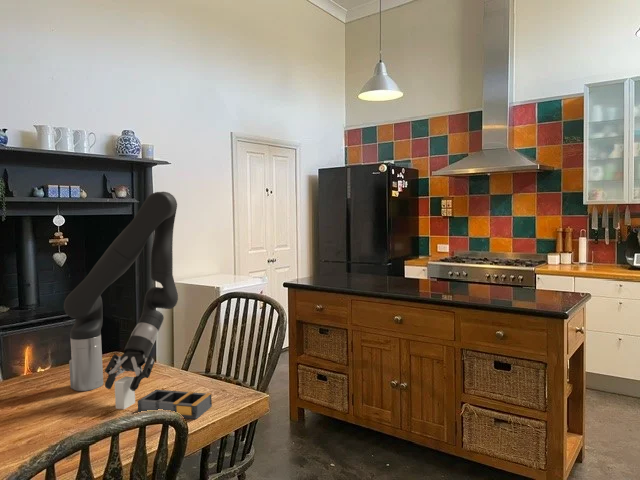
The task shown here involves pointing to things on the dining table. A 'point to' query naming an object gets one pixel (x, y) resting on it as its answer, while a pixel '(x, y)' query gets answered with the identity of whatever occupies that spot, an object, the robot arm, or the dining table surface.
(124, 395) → the white rectangular block
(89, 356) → the robot arm
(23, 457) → the dining table surface
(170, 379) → the dining table surface
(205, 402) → the slot rack
